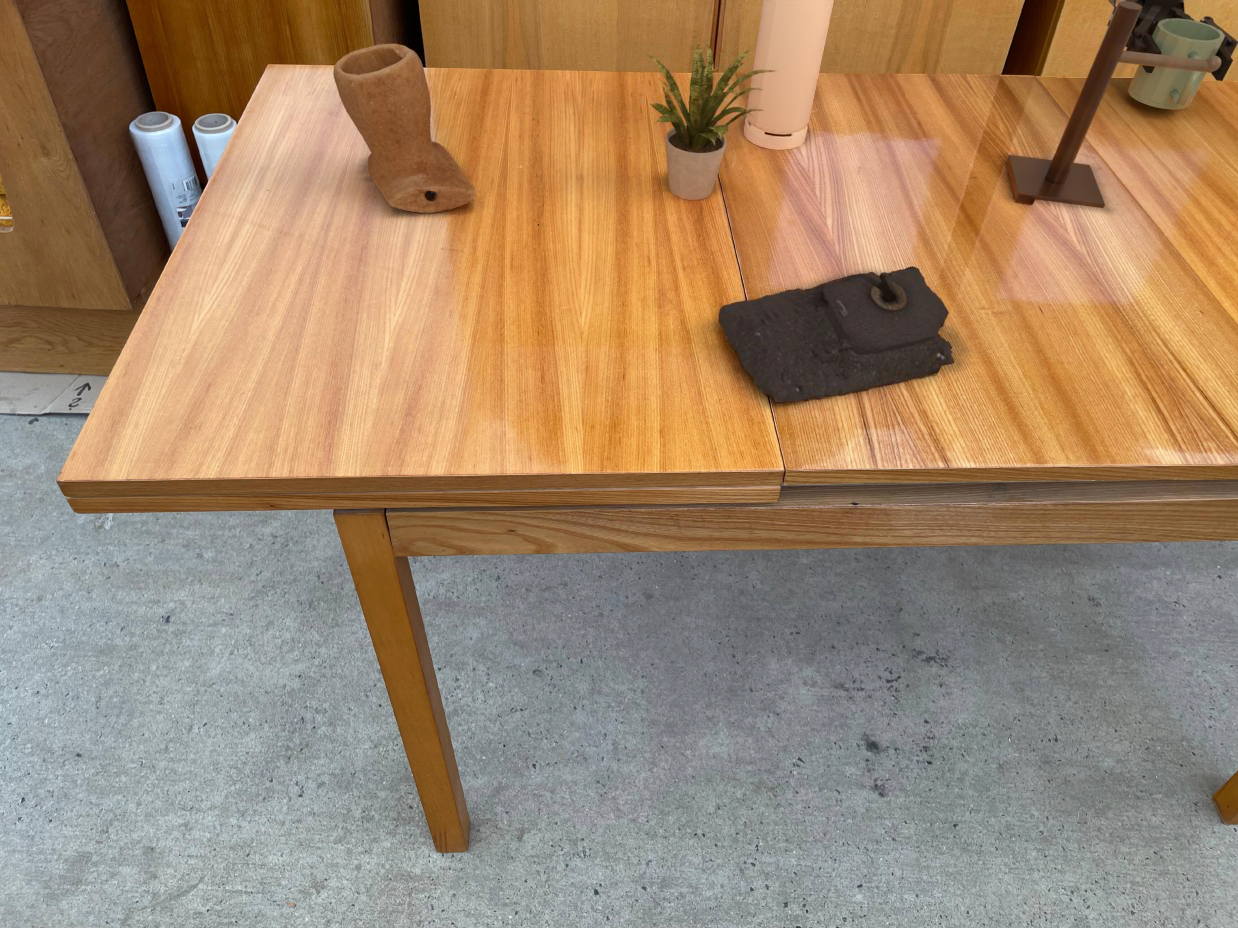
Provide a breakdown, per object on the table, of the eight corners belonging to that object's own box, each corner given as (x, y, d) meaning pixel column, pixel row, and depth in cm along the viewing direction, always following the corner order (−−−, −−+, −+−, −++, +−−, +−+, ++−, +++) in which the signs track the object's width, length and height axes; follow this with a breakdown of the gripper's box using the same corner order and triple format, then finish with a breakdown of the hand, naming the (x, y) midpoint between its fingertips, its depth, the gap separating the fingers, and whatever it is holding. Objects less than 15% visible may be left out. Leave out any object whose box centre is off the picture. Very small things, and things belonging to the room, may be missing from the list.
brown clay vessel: (345, 166, 106) (320, 35, 95) (442, 151, 109) (429, 23, 98) (373, 231, 96) (349, 94, 85) (479, 212, 100) (468, 78, 89)
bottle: (730, 132, 116) (766, -117, 96) (772, 115, 120) (814, -127, 100) (776, 156, 112) (823, -98, 92) (818, 138, 116) (871, -109, 96)
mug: (1122, 81, 127) (1151, 15, 121) (1181, 88, 127) (1214, 22, 120) (1141, 118, 119) (1174, 49, 113) (1205, 125, 118) (1242, 57, 112)
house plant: (782, 210, 103) (810, 68, 91) (679, 235, 98) (695, 89, 86) (718, 155, 111) (736, 19, 100) (620, 176, 107) (627, 35, 95)
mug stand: (1139, 180, 112) (1230, 1, 97) (1158, 221, 105) (1259, 35, 90) (1005, 163, 113) (1073, -16, 98) (1015, 202, 107) (1090, 16, 91)
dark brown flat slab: (697, 314, 88) (702, 274, 85) (885, 278, 94) (897, 239, 91) (766, 414, 78) (775, 373, 75) (972, 366, 84) (989, 326, 81)
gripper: (1210, 41, 134) (1257, 104, 118) (1066, 25, 136) (1094, 85, 120) (1236, -13, 129) (1290, 46, 113) (1087, -28, 131) (1119, 28, 115)
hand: (1189, 66), depth 117 cm, fingers closed on mug, 8 cm apart
